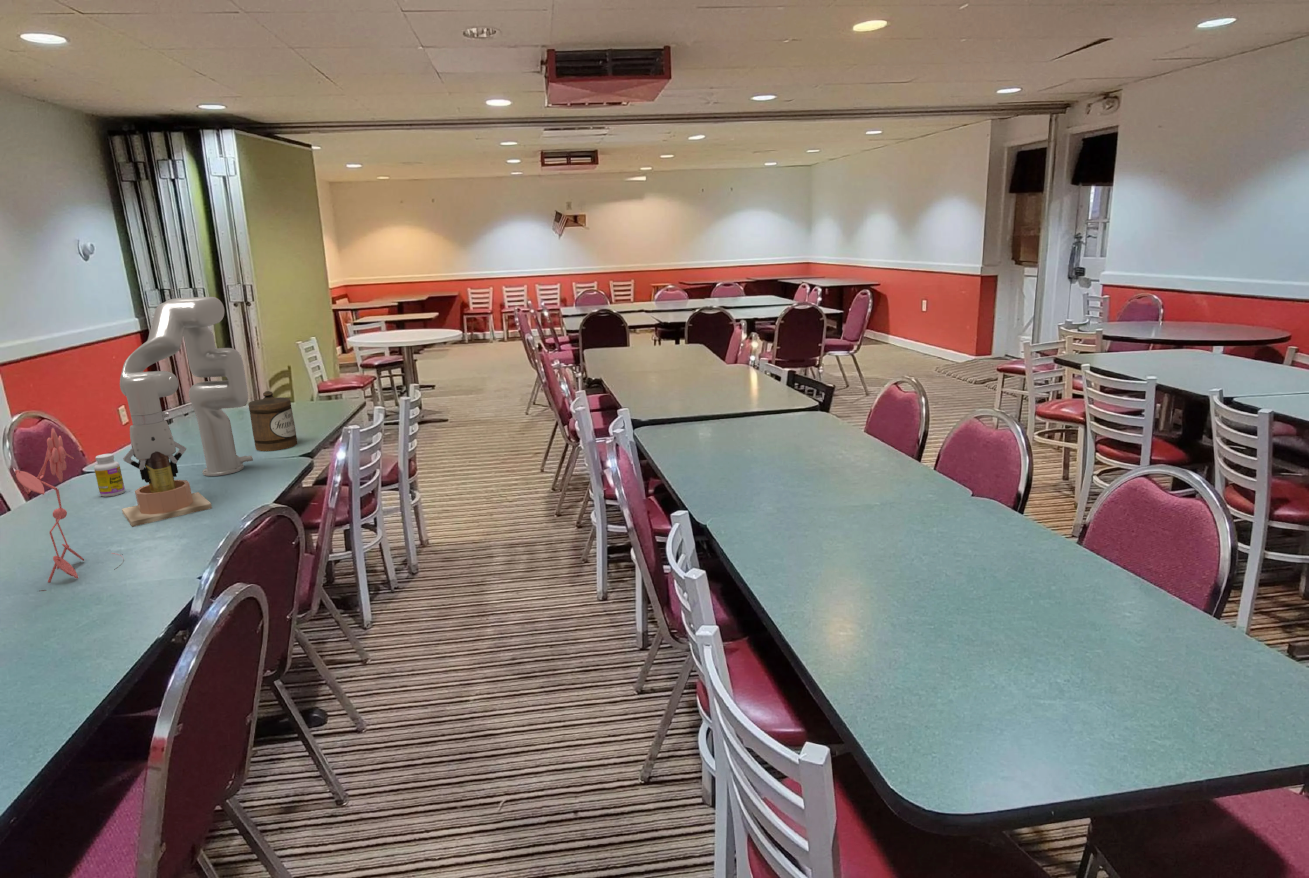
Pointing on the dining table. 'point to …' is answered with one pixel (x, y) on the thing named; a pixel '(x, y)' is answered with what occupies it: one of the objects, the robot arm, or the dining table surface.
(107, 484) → the supplement bottle
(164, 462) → the sauce bottle
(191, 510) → the birch board
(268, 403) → the wooden container
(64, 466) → the figurine
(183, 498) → the jar collar
